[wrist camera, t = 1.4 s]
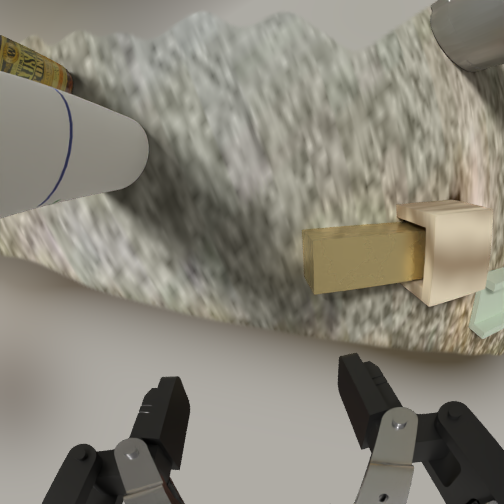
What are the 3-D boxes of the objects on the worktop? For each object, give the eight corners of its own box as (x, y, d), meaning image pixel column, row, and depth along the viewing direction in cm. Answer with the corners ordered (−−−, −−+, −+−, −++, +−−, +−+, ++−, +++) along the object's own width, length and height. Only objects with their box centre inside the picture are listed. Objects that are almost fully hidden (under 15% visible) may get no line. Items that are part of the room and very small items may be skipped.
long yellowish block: (301, 229, 26) (313, 240, 21) (451, 218, 26) (476, 226, 21) (303, 275, 27) (314, 294, 23) (448, 256, 27) (472, 268, 23)
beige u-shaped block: (396, 204, 25) (435, 215, 19) (452, 199, 25) (493, 209, 19) (396, 280, 27) (429, 307, 21) (449, 268, 27) (485, 288, 21)
